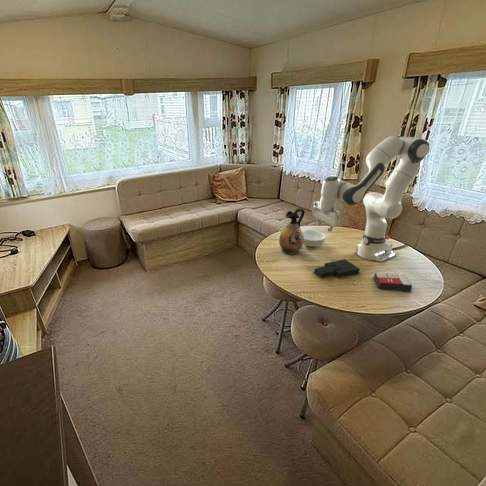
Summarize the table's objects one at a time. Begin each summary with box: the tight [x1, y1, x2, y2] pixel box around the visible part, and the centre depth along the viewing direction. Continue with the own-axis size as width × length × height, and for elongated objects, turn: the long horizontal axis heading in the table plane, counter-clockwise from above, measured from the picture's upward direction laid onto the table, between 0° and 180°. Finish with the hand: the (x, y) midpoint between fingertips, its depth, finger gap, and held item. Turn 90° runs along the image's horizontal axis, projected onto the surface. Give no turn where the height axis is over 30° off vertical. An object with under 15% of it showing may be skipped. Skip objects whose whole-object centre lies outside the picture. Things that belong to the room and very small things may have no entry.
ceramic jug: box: [278, 207, 305, 255], centre depth 190 cm, size 17×15×30 cm
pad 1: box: [313, 265, 339, 279], centre depth 170 cm, size 13×6×3 cm, turn 108°
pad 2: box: [324, 258, 360, 279], centre depth 173 cm, size 14×12×3 cm
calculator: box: [373, 272, 413, 292], centre depth 159 cm, size 11×4×15 cm
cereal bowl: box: [301, 229, 326, 248], centre depth 203 cm, size 17×17×7 cm
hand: (324, 228), depth 175 cm, fingers open, 8 cm apart
